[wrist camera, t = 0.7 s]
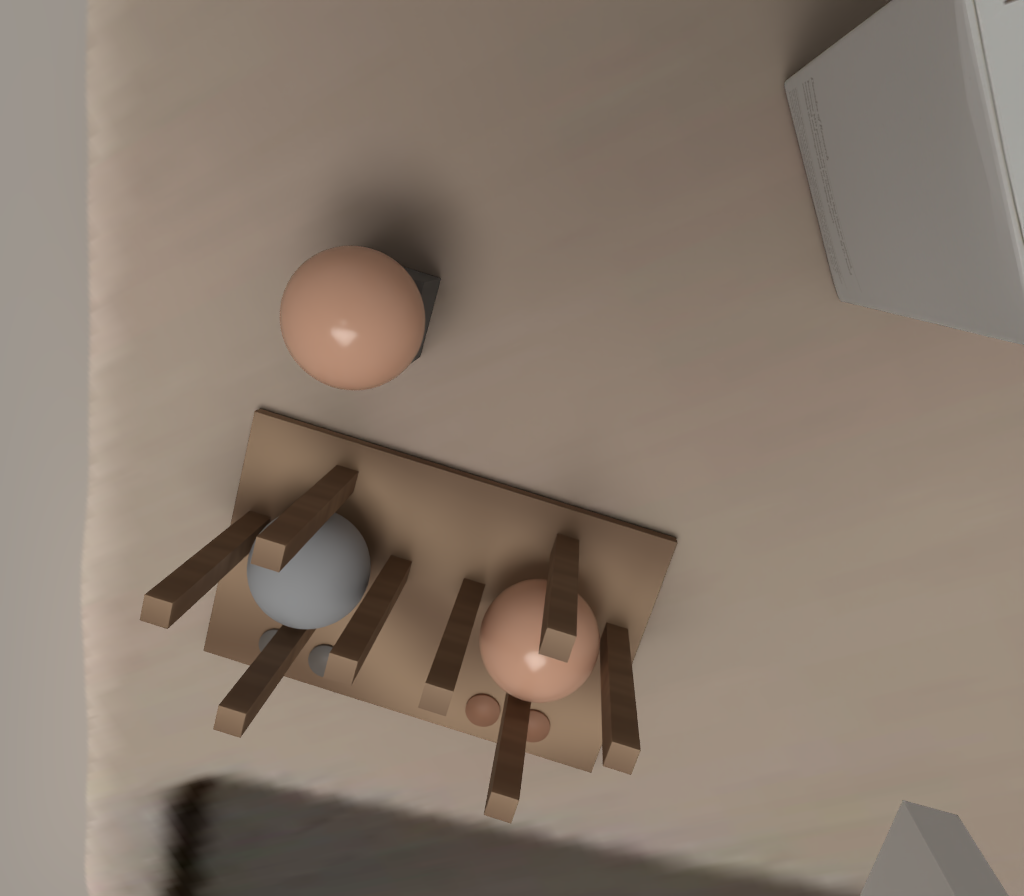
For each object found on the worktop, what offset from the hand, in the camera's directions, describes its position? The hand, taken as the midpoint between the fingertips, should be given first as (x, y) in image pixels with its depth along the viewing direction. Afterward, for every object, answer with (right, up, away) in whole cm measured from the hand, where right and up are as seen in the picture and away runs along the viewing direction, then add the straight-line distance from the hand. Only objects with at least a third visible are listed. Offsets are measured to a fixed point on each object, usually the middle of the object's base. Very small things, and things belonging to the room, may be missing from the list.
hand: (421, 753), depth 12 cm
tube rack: (-2, -2, +26) cm, 26 cm away
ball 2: (+3, -3, +25) cm, 25 cm away
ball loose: (-4, +9, +17) cm, 20 cm away
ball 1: (-7, 0, +25) cm, 26 cm away
